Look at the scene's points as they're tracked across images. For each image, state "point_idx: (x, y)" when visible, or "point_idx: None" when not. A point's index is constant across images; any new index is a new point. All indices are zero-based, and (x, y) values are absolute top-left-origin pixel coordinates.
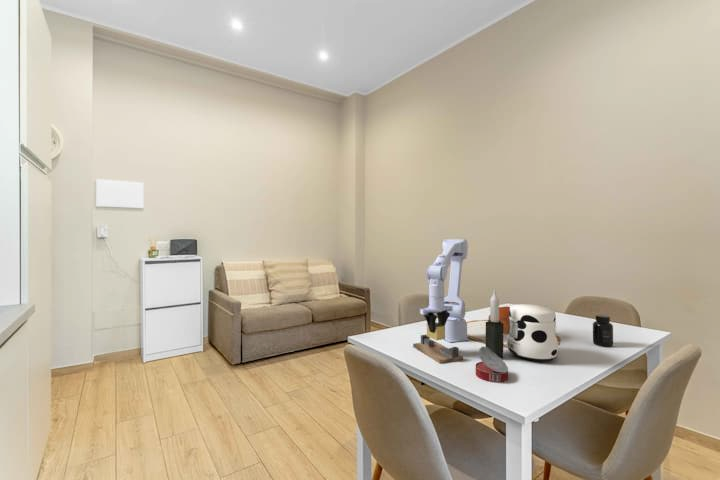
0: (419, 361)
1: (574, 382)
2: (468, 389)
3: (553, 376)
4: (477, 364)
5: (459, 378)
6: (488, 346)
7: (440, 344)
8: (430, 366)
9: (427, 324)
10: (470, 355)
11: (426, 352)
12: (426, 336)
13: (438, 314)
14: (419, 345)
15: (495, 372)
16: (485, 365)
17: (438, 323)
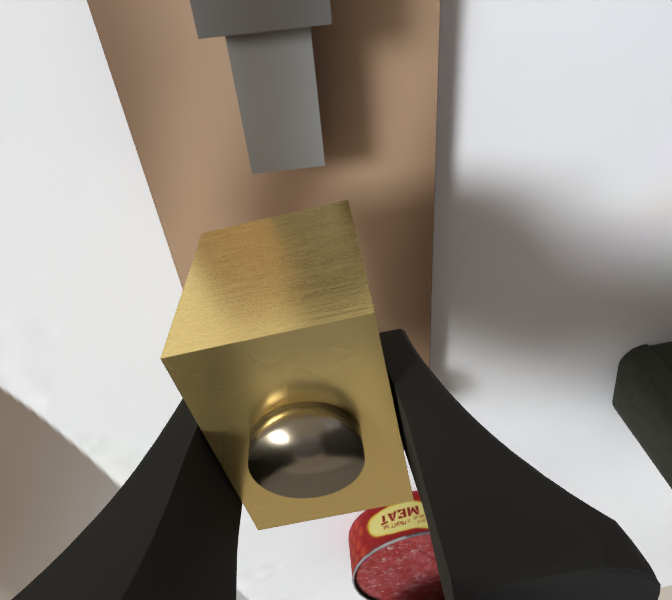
0: (87, 356)
1: (660, 582)
2: (244, 588)
3: (652, 552)
4: (390, 543)
5: (255, 534)
6: (663, 439)
7: (434, 100)
8: (150, 427)
9: (173, 364)
10: (536, 328)
11: (178, 274)
12: (271, 28)
13: (443, 569)
14: (153, 66)
15: (406, 595)
16: (421, 553)
17: (344, 482)
